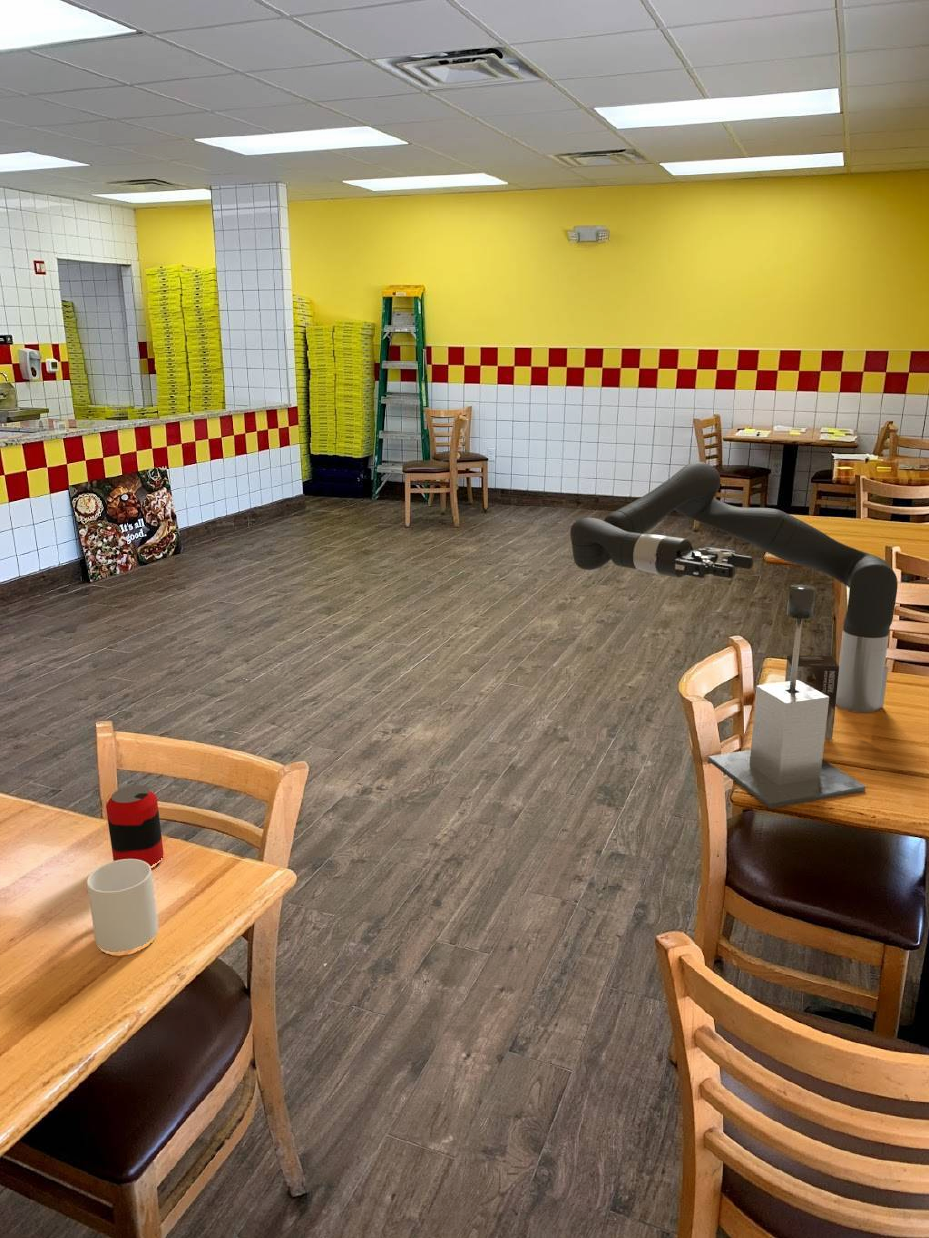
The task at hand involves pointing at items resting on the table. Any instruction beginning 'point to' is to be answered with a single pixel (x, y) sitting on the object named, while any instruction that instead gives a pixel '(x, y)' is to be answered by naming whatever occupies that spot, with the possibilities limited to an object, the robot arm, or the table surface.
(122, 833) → the soda can
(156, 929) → the cup
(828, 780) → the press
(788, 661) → the coffee box
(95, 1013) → the table surface
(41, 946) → the table surface
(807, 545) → the robot arm
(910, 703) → the table surface
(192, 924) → the table surface
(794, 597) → the plunger
